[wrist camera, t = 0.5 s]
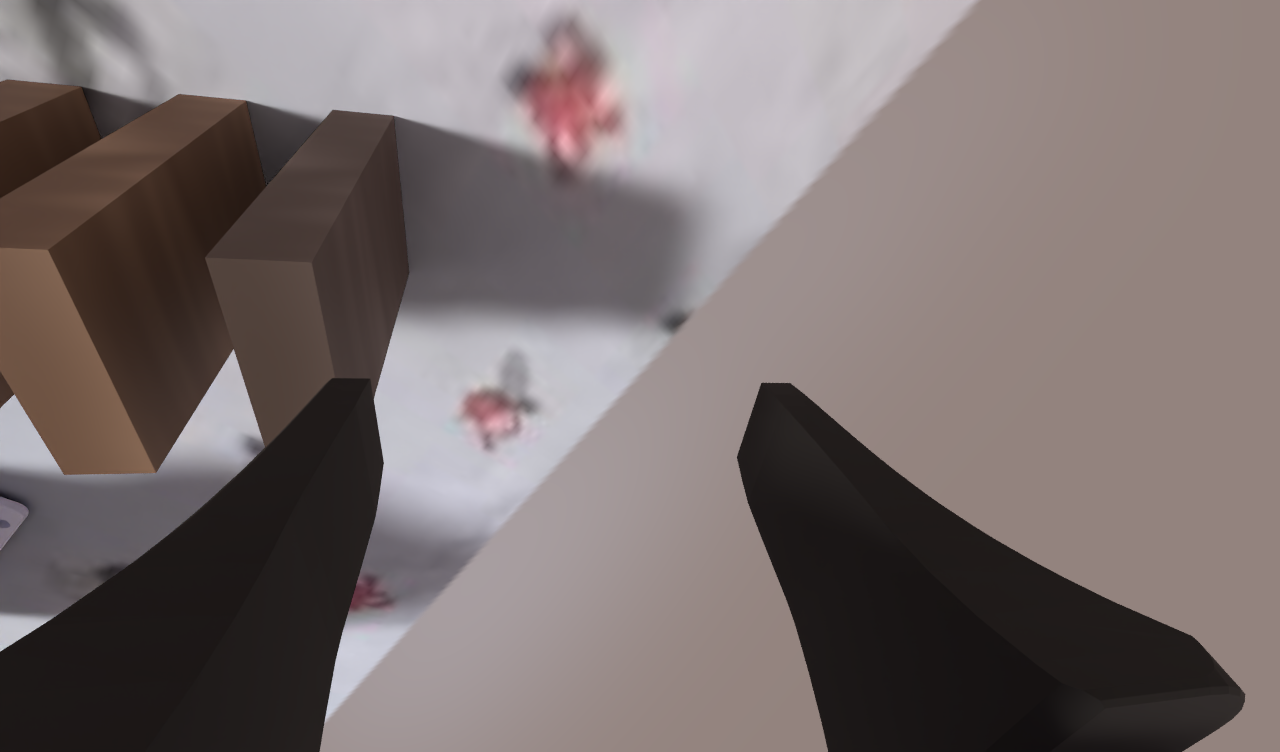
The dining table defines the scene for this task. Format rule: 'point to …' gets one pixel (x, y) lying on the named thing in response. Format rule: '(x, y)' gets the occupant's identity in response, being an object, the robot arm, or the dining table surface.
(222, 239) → the domino
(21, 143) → the domino
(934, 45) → the dining table surface
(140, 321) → the domino
